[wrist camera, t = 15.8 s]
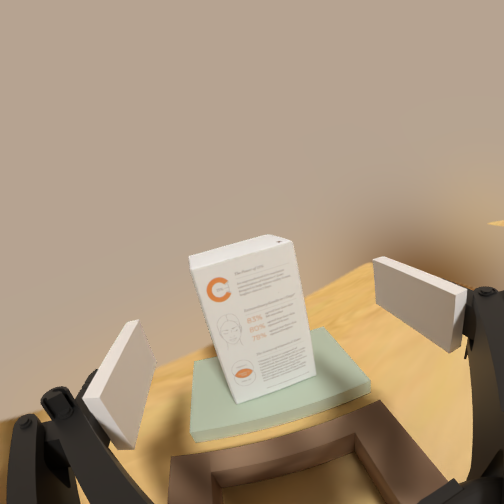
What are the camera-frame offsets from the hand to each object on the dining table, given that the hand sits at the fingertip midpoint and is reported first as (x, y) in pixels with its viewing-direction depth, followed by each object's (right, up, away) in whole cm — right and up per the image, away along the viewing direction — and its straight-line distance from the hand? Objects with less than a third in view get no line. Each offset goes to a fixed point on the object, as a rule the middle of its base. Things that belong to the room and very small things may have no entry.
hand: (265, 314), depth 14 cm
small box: (+1, -9, +12) cm, 15 cm away
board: (+1, -10, +12) cm, 16 cm away
